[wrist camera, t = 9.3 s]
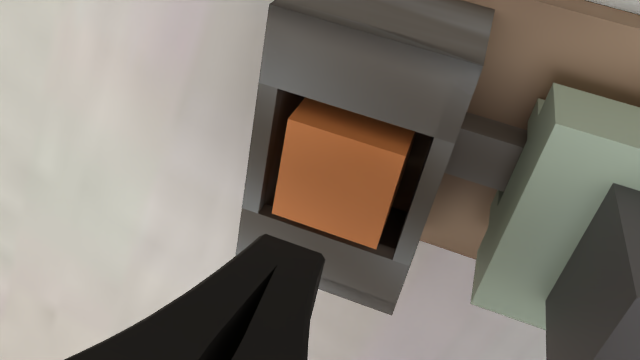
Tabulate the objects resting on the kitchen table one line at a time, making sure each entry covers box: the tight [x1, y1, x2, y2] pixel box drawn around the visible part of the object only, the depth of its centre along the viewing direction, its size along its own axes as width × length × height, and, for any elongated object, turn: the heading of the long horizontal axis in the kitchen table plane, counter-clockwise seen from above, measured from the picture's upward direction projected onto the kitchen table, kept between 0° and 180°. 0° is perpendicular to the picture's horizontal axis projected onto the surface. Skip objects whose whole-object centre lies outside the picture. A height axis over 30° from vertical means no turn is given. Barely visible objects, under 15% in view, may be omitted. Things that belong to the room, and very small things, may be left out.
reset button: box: [272, 97, 416, 249], centre depth 17 cm, size 3×3×4 cm
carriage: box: [471, 83, 640, 360], centre depth 15 cm, size 6×6×8 cm
